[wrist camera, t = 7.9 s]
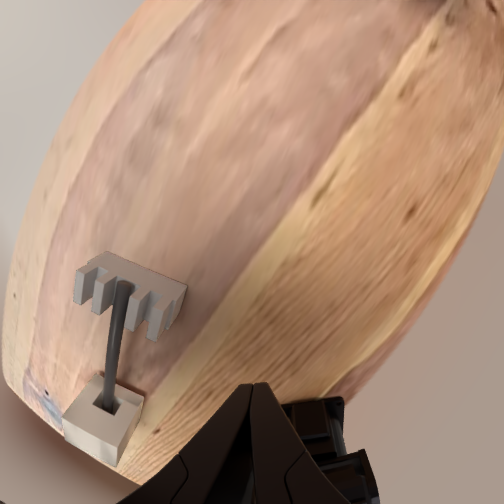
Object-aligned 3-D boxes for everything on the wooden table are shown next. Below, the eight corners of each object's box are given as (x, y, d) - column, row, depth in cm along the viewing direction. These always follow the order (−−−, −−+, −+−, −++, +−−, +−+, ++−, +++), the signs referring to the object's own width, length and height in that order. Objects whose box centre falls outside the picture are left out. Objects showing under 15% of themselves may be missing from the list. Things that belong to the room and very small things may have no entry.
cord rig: (107, 251, 21) (70, 270, 16) (187, 285, 21) (165, 315, 16) (91, 404, 25) (72, 432, 21) (147, 431, 26) (132, 463, 21)
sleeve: (96, 373, 23) (61, 416, 16) (144, 397, 23) (117, 447, 17) (94, 398, 24) (65, 440, 17) (139, 420, 24) (116, 467, 18)
